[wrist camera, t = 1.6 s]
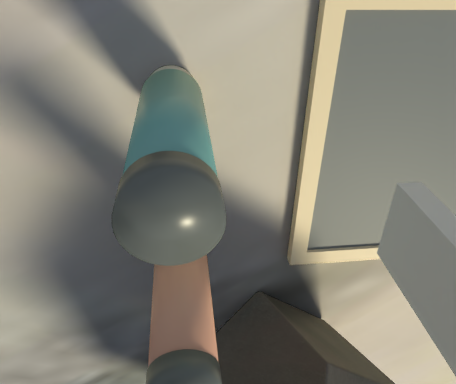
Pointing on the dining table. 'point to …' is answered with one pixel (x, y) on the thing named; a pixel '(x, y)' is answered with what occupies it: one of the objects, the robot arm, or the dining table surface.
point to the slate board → (373, 122)
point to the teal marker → (169, 176)
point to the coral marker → (182, 326)
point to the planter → (288, 348)
